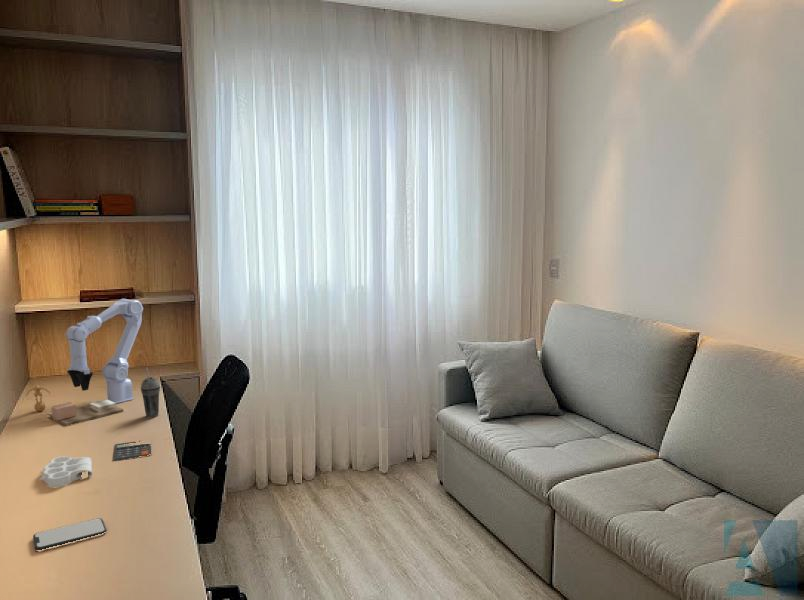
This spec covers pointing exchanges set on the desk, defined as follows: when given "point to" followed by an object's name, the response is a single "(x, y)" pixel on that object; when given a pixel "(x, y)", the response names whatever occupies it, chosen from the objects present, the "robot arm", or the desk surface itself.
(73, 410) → the tall pink cuboid
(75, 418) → the ticket board
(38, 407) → the figurine
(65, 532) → the phone case
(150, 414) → the beverage cup
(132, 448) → the calculator
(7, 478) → the desk surface
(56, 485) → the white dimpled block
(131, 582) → the desk surface
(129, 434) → the desk surface
